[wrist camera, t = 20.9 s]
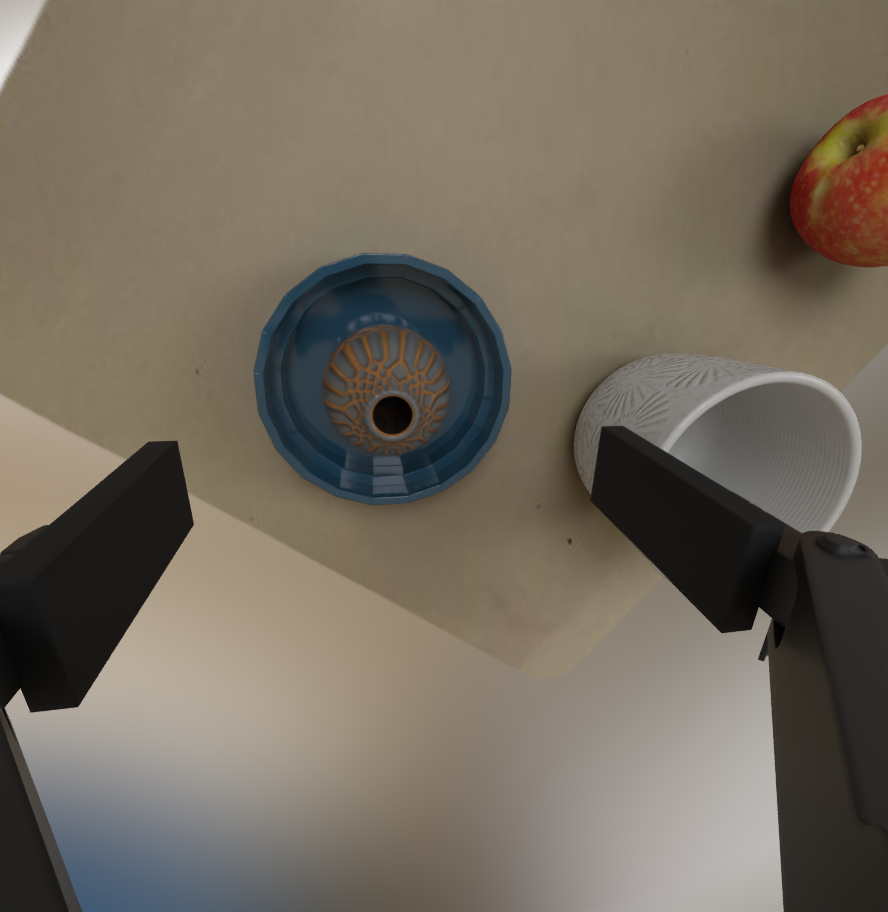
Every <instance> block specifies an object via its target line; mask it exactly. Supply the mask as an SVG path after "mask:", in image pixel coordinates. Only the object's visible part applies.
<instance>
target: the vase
mask: <svg viewBox="0 0 888 912" xmlns="http://www.w3.org/2000/svg"><path fill="white" fill-rule="evenodd" d="M322 398H323V403H324V407H325V410H326V413H327V415H328V417H329V419H330V421H331V423H332V424H333V426H334V427H335V429H336V430H337V431H338V432H339V433H340V434H341V435H342V436H343V437H344V438H345V439H346V440H347V441H348V442H350V443H351V444H353V445H354V446H356V447H358V448H360V449H362V450H364V451H367V452H370V453H374V454H380V455H396V454H401V453H405V452H408V451H411V450H413V449H415V448H417V447H419V446H421V445H422V444H424V443H425V442H426V441H428V440H429V439H430V438H431V437H432V436H433V435H434V434H435V433H436V431H437V430H438V429H439V427H440V426H441V424H442V422H443V420H444V418H445V416H446V413H447V410H448V407H449V402H450V380H449V375H448V371H447V368H446V366H445V363H444V361H443V360H442V358H441V356H440V355H439V353H438V352H437V350H436V349H435V348H434V347H433V346H432V344H431V343H430V342H428V341H427V340H426V339H425V338H424V337H422V336H421V335H419V334H418V333H416V332H414V331H412V330H410V329H408V328H405V327H401V326H397V325H390V324H378V325H372V326H368V327H364V328H362V329H359V330H357V331H355V332H354V333H352V334H350V335H349V336H348V337H346V338H345V339H344V340H343V341H342V342H341V343H340V344H339V345H338V346H337V347H336V348H335V350H334V351H333V352H332V354H331V356H330V358H329V360H328V362H327V364H326V367H325V370H324V374H323V379H322Z"/></svg>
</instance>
